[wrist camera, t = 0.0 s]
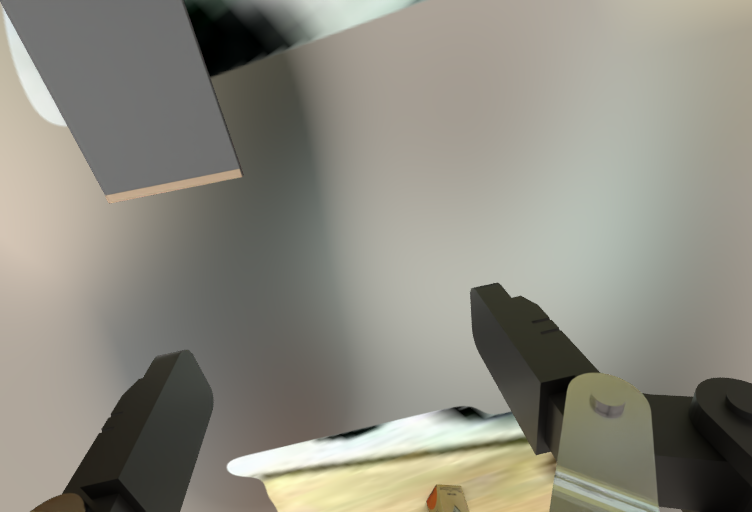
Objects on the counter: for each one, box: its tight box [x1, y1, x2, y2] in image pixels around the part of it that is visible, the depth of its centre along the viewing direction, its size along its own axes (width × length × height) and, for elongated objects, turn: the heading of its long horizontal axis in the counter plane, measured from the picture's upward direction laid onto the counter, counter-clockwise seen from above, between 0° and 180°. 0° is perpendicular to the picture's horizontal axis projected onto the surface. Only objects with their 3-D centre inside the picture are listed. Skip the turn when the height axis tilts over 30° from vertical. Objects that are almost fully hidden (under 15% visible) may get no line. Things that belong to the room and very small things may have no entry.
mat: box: [0, 0, 243, 203], centre depth 32 cm, size 18×13×1 cm
